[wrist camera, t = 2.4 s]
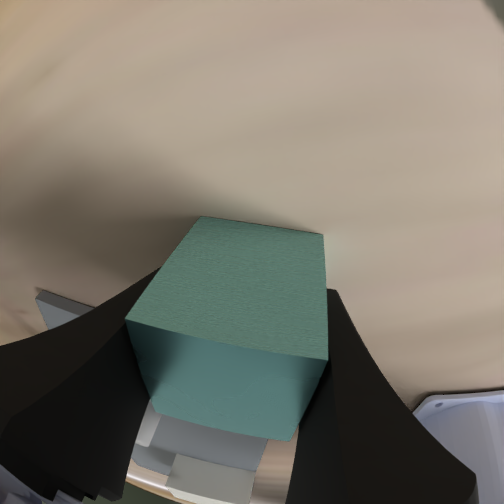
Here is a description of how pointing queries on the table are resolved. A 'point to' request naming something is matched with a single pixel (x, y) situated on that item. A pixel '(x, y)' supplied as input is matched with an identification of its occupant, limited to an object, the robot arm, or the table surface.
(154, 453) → the base plate
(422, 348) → the table surface
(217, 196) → the table surface
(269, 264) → the teal block
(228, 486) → the block
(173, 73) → the table surface
